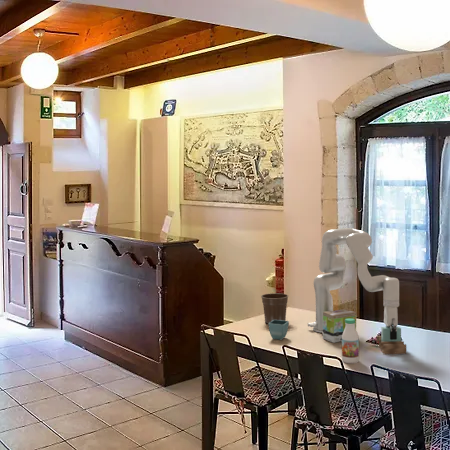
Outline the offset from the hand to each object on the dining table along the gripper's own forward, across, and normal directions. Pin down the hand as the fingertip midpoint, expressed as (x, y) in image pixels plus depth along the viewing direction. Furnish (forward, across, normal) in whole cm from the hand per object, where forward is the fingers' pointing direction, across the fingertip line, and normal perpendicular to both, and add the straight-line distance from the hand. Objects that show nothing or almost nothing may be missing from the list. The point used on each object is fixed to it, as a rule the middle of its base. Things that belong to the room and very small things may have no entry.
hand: (391, 336), depth 304 cm
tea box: (+6, -19, -23) cm, 31 cm away
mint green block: (+5, 0, 0) cm, 5 cm away
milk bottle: (+6, +19, -23) cm, 31 cm away
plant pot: (+7, -56, -56) cm, 79 cm away
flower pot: (+6, -21, -55) cm, 59 cm away
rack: (+6, 0, 0) cm, 6 cm away
